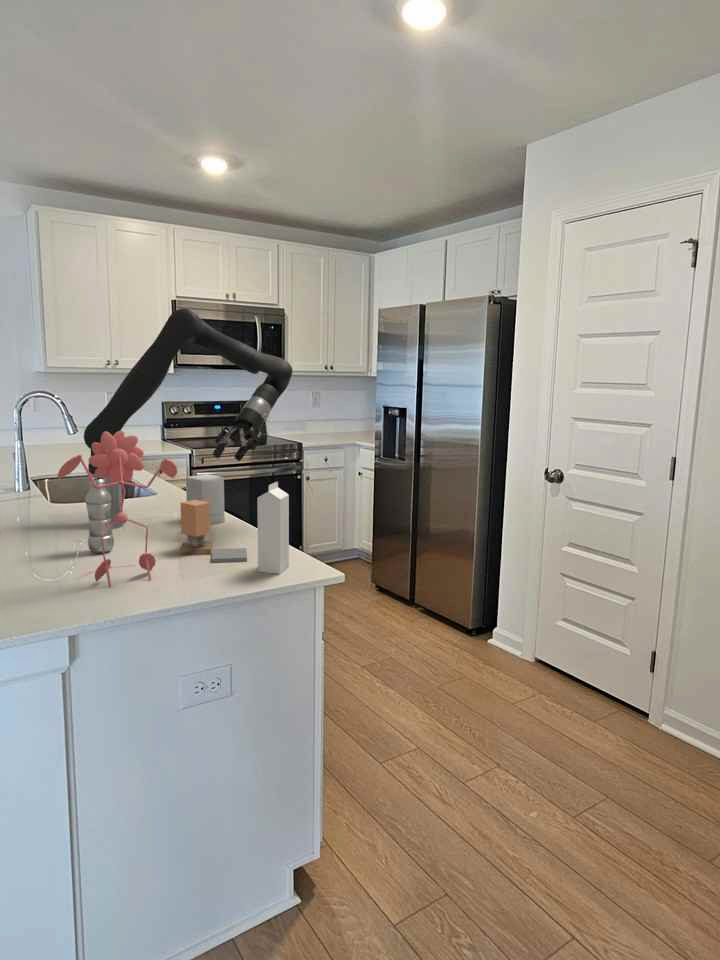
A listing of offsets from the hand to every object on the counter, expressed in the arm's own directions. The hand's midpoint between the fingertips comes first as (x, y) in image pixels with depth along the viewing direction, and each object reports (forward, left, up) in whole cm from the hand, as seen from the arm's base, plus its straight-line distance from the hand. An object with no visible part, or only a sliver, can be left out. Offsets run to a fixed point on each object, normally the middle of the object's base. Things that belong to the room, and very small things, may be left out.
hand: (226, 457), depth 176 cm
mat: (+1, -15, -25) cm, 29 cm away
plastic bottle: (-33, -6, -25) cm, 42 cm away
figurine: (-24, -27, -25) cm, 44 cm away
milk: (+12, -27, -25) cm, 39 cm away
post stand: (-8, -8, -25) cm, 27 cm away
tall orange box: (-8, -8, -20) cm, 23 cm away
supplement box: (-7, +25, -25) cm, 36 cm away
